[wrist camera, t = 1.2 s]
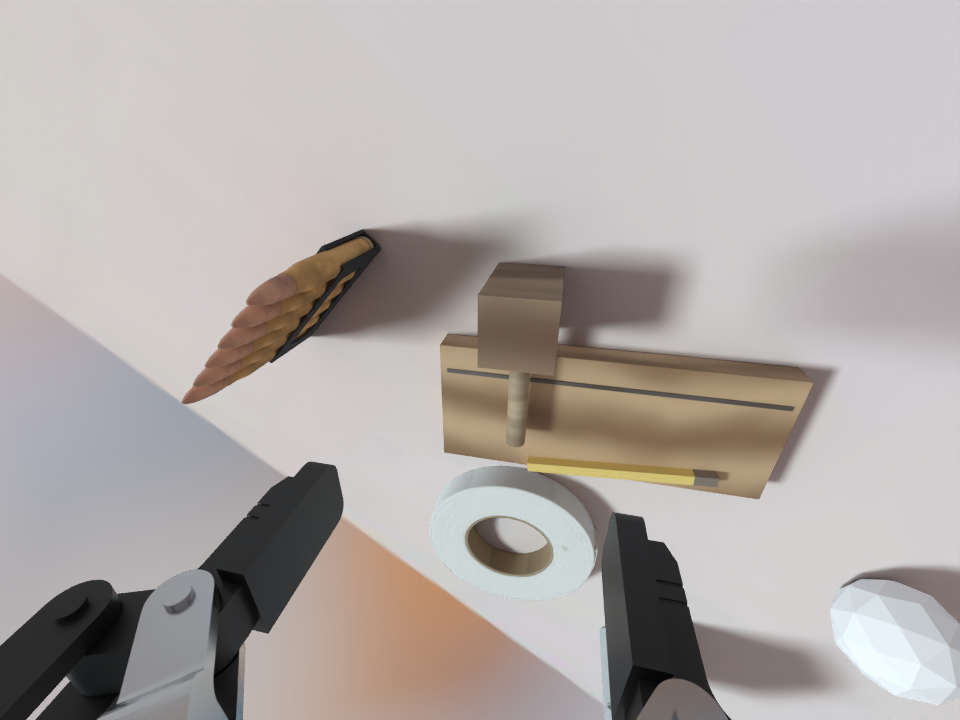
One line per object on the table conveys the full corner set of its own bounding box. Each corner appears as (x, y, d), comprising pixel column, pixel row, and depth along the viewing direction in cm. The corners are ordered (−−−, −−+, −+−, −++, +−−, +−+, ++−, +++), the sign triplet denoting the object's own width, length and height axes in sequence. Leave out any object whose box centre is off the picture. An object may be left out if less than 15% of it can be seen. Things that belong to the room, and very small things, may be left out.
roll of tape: (477, 582, 45) (471, 607, 42) (410, 481, 39) (399, 504, 37) (616, 566, 39) (619, 595, 37) (560, 447, 34) (559, 470, 31)
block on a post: (499, 262, 27) (478, 295, 21) (564, 266, 27) (562, 301, 20) (494, 409, 33) (476, 468, 27) (548, 416, 32) (542, 478, 26)
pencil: (528, 456, 32) (527, 463, 31) (716, 471, 29) (719, 478, 28) (528, 464, 32) (527, 471, 32) (713, 479, 29) (717, 487, 29)
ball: (875, 556, 35) (1012, 644, 29) (819, 624, 37) (938, 723, 30) (855, 551, 31) (1011, 653, 25) (792, 628, 32) (925, 745, 26)
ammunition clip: (362, 228, 28) (239, 274, 18) (382, 247, 28) (273, 304, 18) (292, 321, 33) (163, 400, 23) (309, 337, 33) (190, 422, 23)
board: (447, 333, 31) (439, 345, 29) (798, 367, 26) (814, 383, 25) (450, 437, 35) (444, 453, 33) (748, 479, 31) (759, 500, 29)
